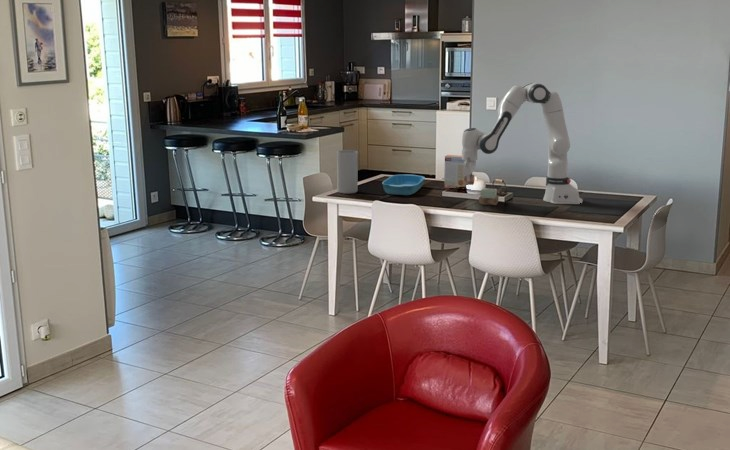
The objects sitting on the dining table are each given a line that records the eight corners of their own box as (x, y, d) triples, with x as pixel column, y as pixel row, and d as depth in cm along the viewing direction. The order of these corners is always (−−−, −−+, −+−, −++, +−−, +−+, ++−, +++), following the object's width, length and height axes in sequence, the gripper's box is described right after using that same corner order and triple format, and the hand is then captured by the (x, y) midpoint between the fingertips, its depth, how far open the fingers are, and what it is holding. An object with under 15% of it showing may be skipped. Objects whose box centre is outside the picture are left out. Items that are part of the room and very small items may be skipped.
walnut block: (498, 202, 468) (498, 195, 467) (496, 205, 458) (496, 199, 458) (481, 201, 470) (481, 194, 470) (478, 204, 461) (478, 197, 460)
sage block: (496, 195, 466) (496, 188, 465) (494, 198, 459) (494, 191, 458) (482, 194, 468) (483, 188, 467) (480, 197, 461) (480, 190, 460)
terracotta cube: (474, 183, 466) (474, 174, 465) (472, 184, 461) (472, 176, 460) (465, 182, 467) (465, 174, 466) (464, 184, 463) (464, 175, 462)
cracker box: (468, 188, 503) (469, 155, 498) (465, 190, 498) (466, 157, 493) (446, 186, 509) (447, 154, 504) (443, 188, 503) (444, 155, 498)
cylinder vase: (360, 193, 490) (360, 152, 484) (340, 194, 486) (340, 153, 480) (353, 189, 502) (353, 149, 495) (334, 190, 498) (334, 150, 491)
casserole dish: (413, 197, 478) (413, 186, 476) (378, 195, 485) (378, 183, 483) (428, 186, 512) (428, 175, 510) (394, 184, 519) (394, 173, 517)
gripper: (472, 159, 450) (472, 183, 453) (477, 153, 469) (477, 177, 472) (461, 159, 452) (461, 183, 455) (466, 153, 471) (466, 176, 474)
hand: (469, 180), depth 464 cm, fingers closed on terracotta cube, 5 cm apart
